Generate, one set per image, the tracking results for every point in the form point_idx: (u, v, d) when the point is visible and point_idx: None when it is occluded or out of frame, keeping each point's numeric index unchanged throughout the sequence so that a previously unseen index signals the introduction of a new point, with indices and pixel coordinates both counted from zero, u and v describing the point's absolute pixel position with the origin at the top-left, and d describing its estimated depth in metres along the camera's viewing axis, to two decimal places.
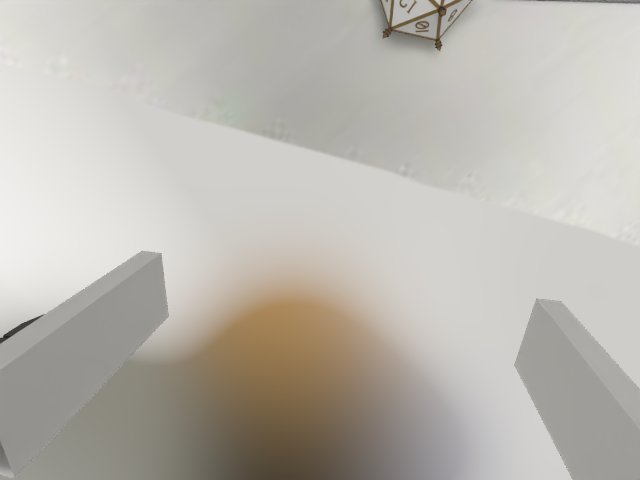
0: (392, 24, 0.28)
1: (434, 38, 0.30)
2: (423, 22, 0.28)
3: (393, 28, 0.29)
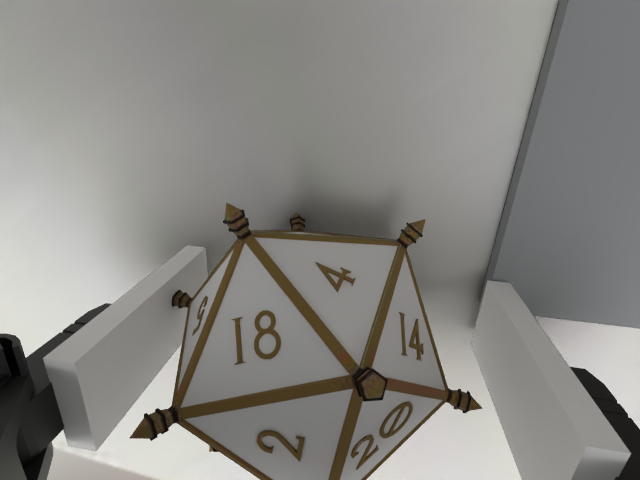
0: None
1: None
2: None
3: None
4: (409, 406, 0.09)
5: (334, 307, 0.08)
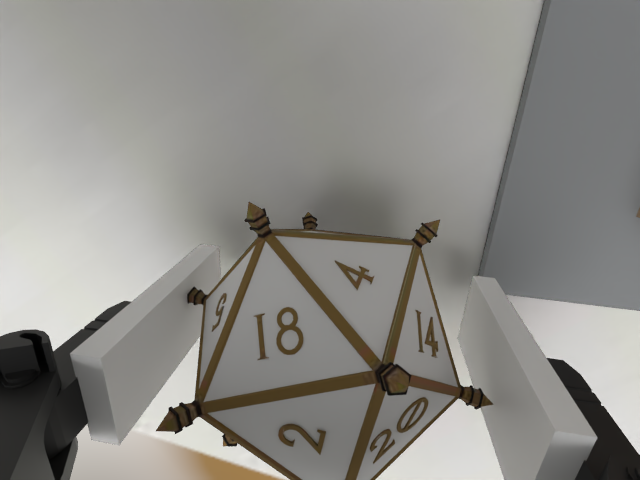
0: None
1: None
2: None
3: None
4: (424, 402, 0.09)
5: (354, 304, 0.08)
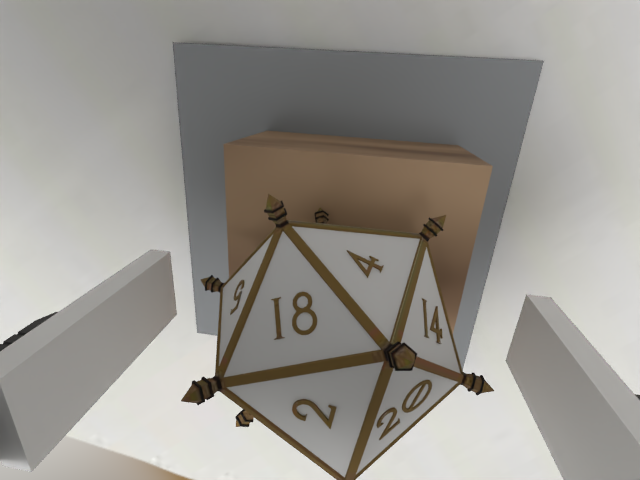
0: None
1: None
2: None
3: None
4: (428, 385, 0.09)
5: (365, 290, 0.09)
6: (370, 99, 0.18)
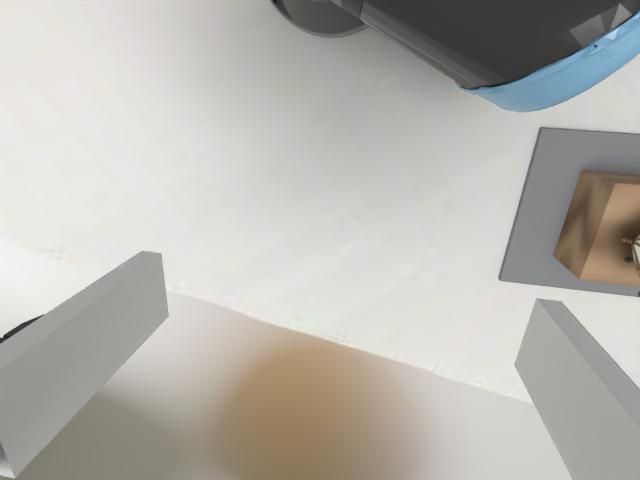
0: None
1: None
2: None
3: None
4: None
5: None
6: None
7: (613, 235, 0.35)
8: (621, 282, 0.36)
